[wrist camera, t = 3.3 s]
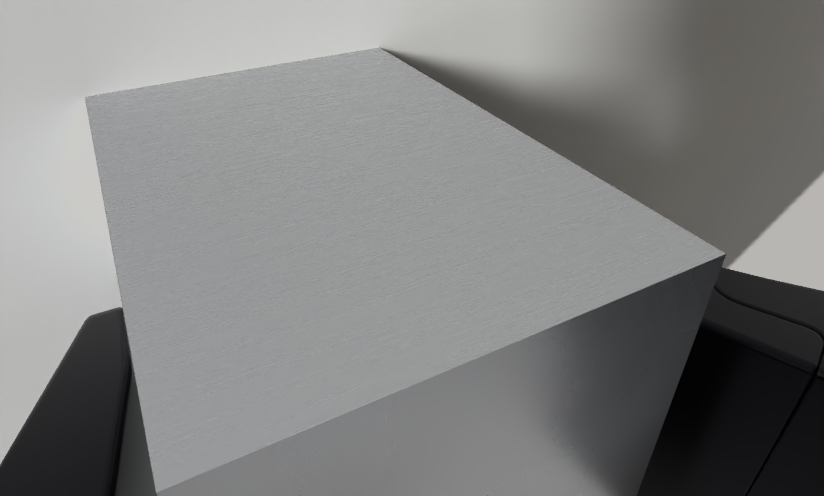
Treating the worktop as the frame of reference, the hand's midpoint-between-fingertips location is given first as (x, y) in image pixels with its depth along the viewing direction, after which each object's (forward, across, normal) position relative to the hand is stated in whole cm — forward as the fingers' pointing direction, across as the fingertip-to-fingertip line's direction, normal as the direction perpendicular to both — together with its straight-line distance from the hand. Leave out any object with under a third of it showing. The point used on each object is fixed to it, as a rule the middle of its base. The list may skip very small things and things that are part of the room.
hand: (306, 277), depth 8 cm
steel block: (+2, 0, 0) cm, 2 cm away
